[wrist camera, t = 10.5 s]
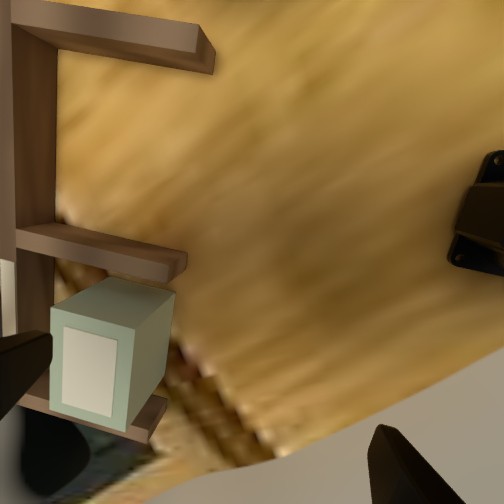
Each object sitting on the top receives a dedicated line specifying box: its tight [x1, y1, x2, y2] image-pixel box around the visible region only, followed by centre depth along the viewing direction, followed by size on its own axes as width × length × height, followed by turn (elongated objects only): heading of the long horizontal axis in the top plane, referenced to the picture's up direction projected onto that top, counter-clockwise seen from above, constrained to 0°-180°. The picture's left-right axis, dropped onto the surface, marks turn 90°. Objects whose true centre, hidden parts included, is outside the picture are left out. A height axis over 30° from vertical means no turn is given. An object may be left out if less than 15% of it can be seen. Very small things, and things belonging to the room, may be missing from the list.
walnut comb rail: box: [0, 0, 216, 444], centre depth 19 cm, size 11×26×3 cm, turn 169°
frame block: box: [49, 276, 176, 432], centre depth 19 cm, size 5×7×6 cm
